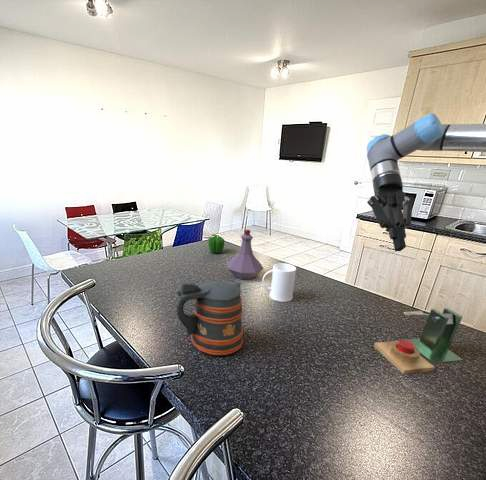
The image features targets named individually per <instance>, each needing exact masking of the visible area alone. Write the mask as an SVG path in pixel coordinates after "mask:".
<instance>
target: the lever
mask: <svg viewBox="0 0 486 480" xmlns="http://www.w3.org/2000/svg"><path fill="white" fill-rule="evenodd" d="M441 313H442V314H444V313H443V312H441ZM429 314H430V313H424V312H423V311H422V310H415V311H402V312H401V317H403V318H409V317H417V318H422V319H424V318H425V319H428V317H429ZM444 315H445V316H447V317H449V319H448V322H447V324H453V315H452V314H444Z"/></svg>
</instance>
